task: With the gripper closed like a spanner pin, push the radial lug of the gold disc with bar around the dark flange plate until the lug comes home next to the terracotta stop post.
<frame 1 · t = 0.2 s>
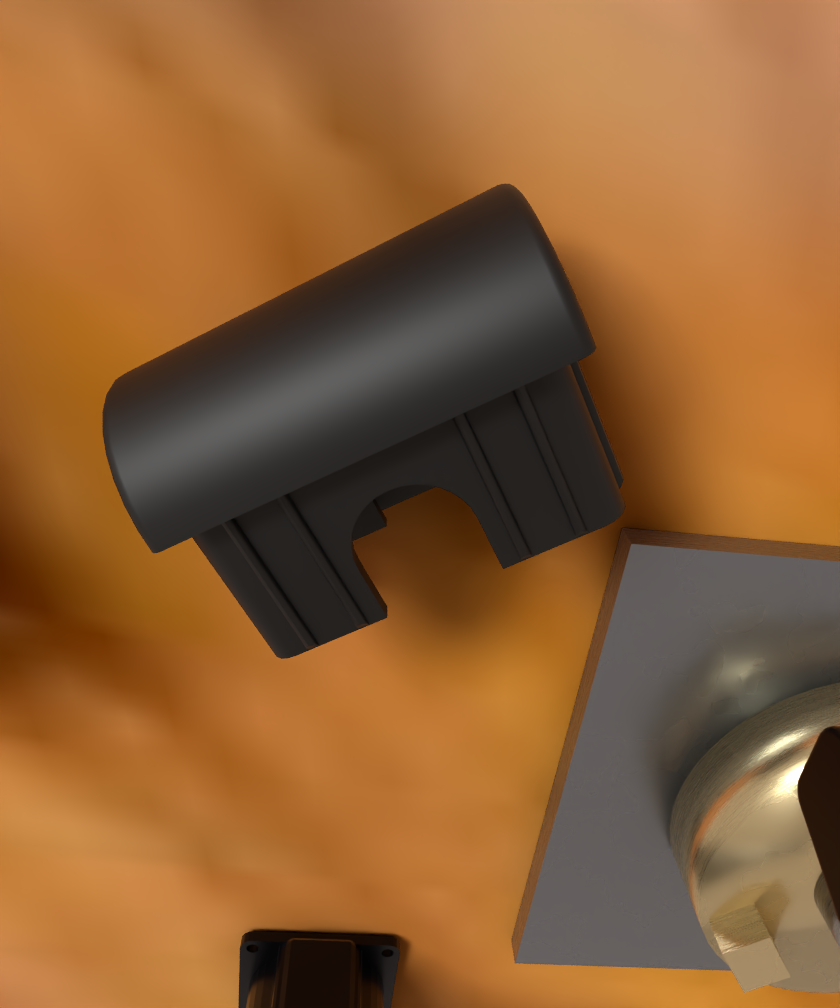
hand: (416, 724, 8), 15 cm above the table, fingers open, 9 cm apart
flange plate: (816, 781, 29), on the table
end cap: (376, 373, 22), on the table
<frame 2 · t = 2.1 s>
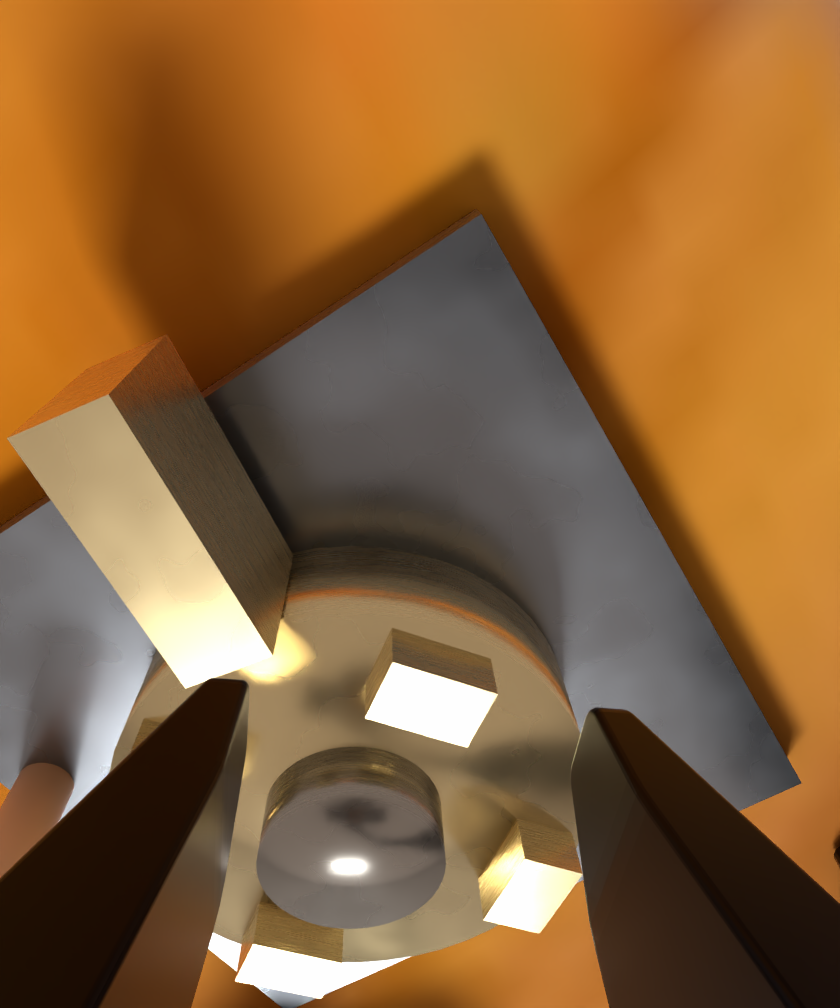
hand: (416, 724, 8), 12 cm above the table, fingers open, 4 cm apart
stop post: (58, 757, 24), resting on flange plate
flange plate: (358, 697, 23), on the table
gold disc with bar: (303, 709, 19), point 4 cm above the table, hinge at 0.0°
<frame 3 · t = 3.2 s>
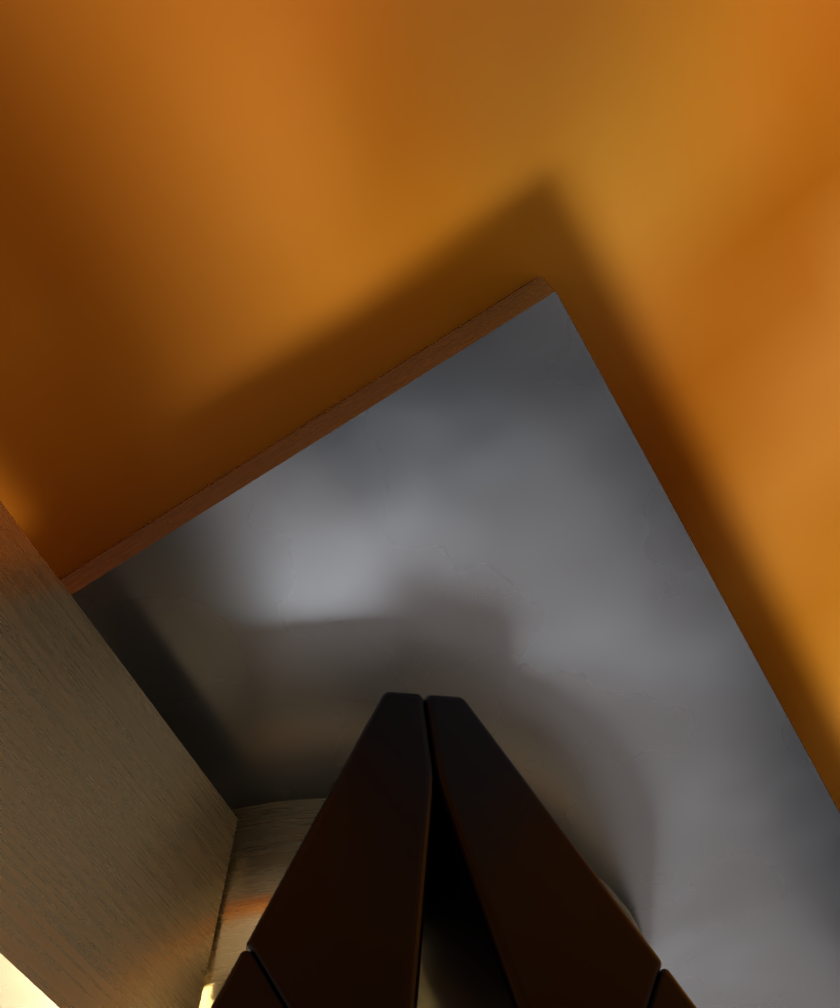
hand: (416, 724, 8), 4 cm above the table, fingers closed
flange plate: (346, 956, 16), on the table
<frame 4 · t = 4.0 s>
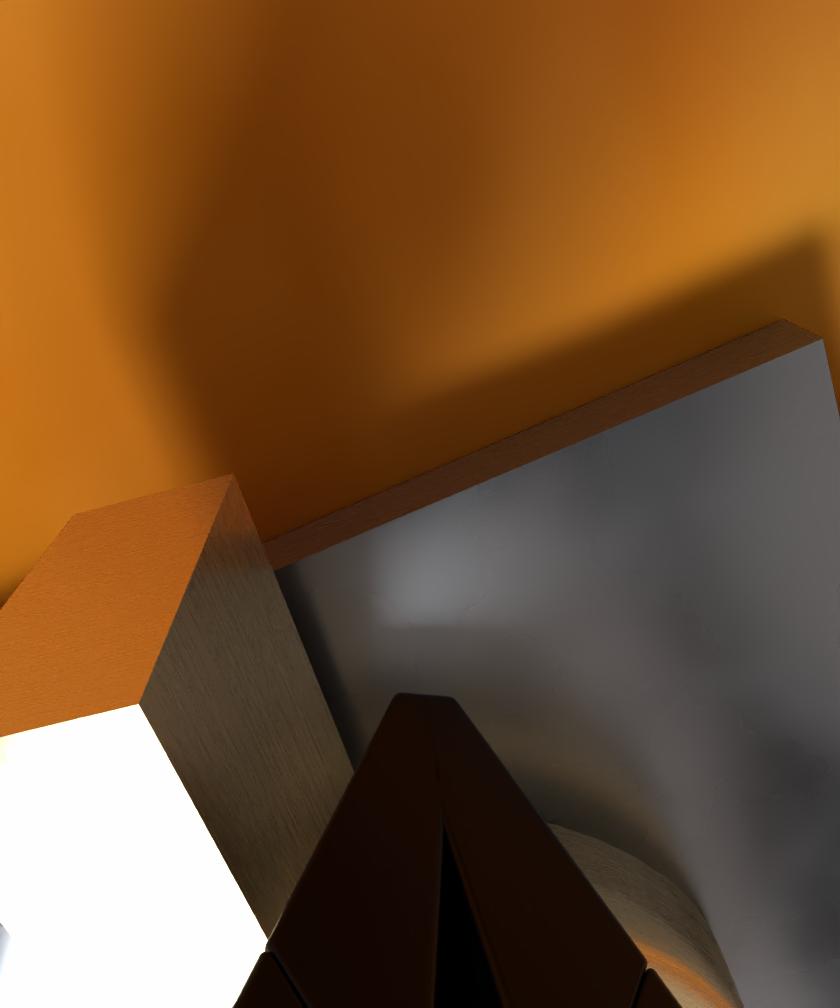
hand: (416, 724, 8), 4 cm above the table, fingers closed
flange plate: (408, 969, 16), on the table
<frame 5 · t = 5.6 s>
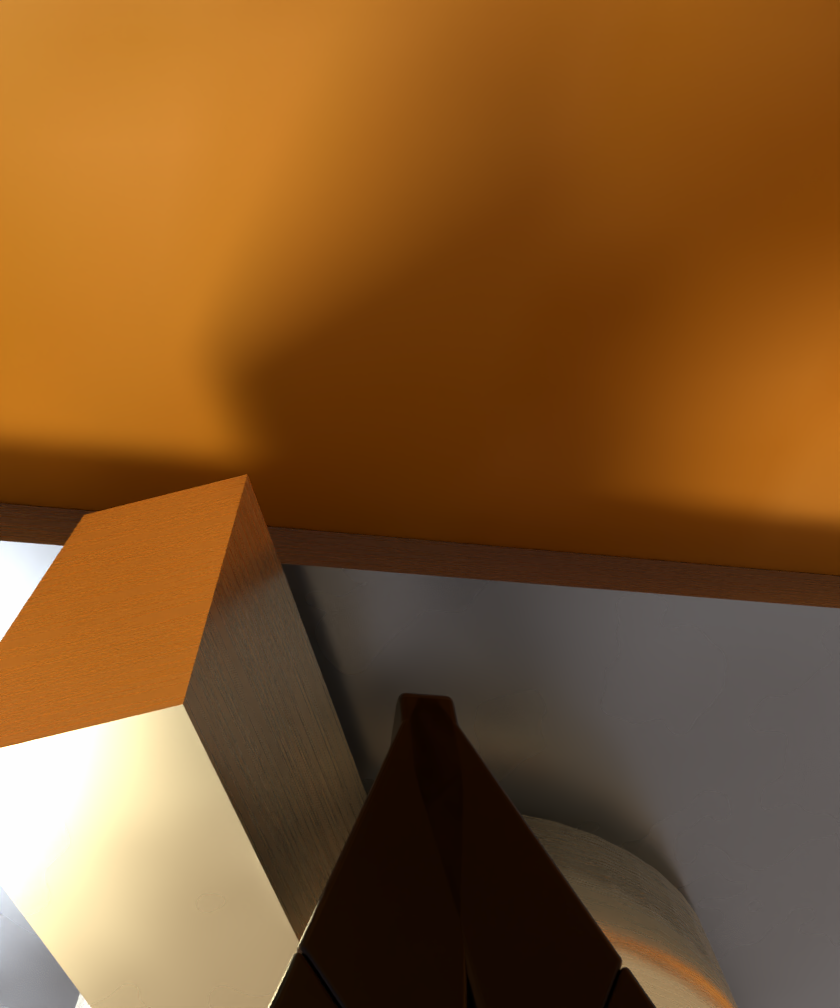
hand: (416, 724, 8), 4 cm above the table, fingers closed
flange plate: (400, 967, 16), on the table
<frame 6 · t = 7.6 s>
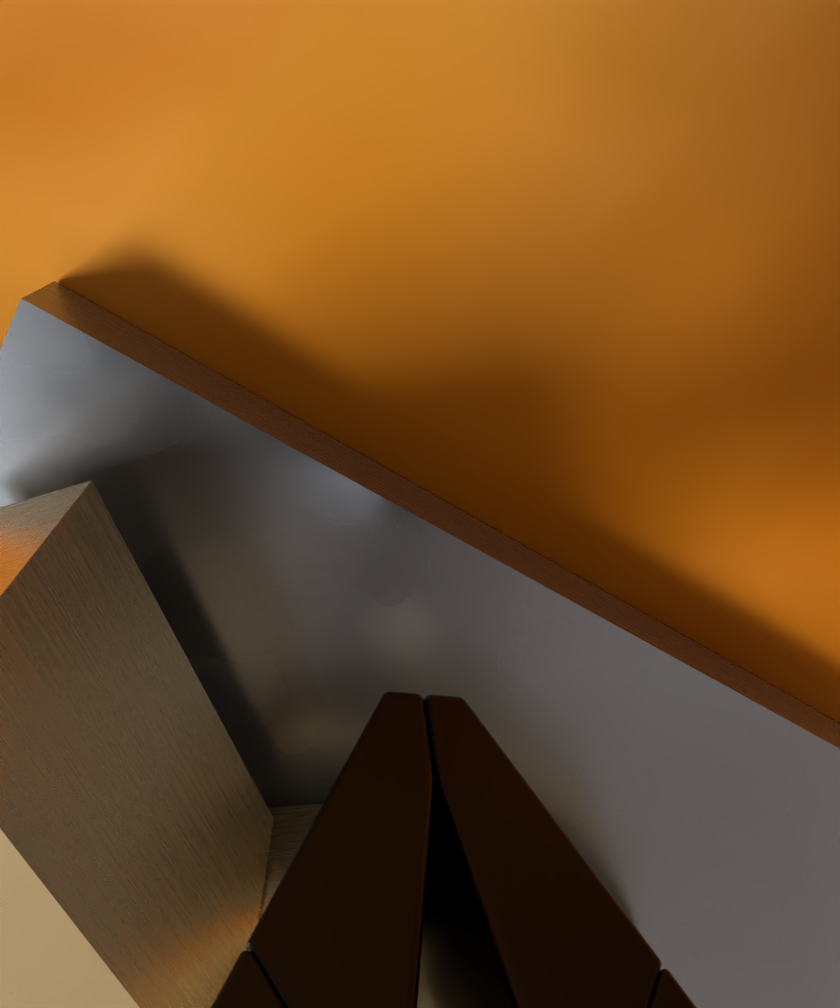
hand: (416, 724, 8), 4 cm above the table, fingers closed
flange plate: (342, 961, 16), on the table
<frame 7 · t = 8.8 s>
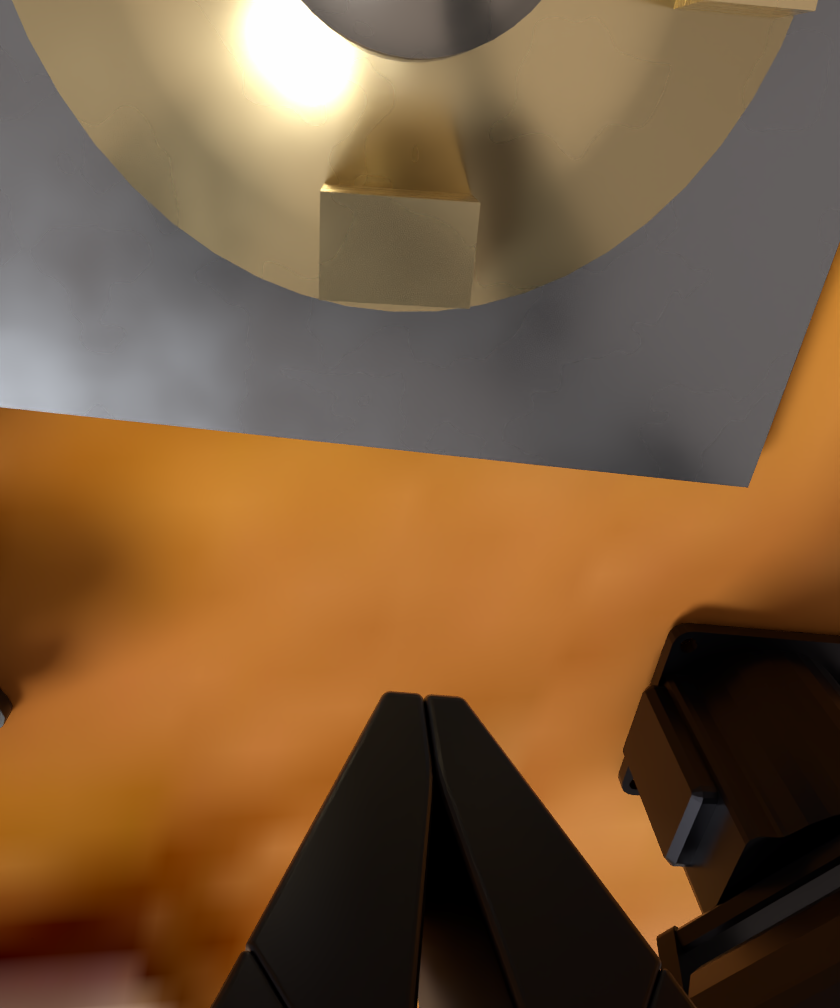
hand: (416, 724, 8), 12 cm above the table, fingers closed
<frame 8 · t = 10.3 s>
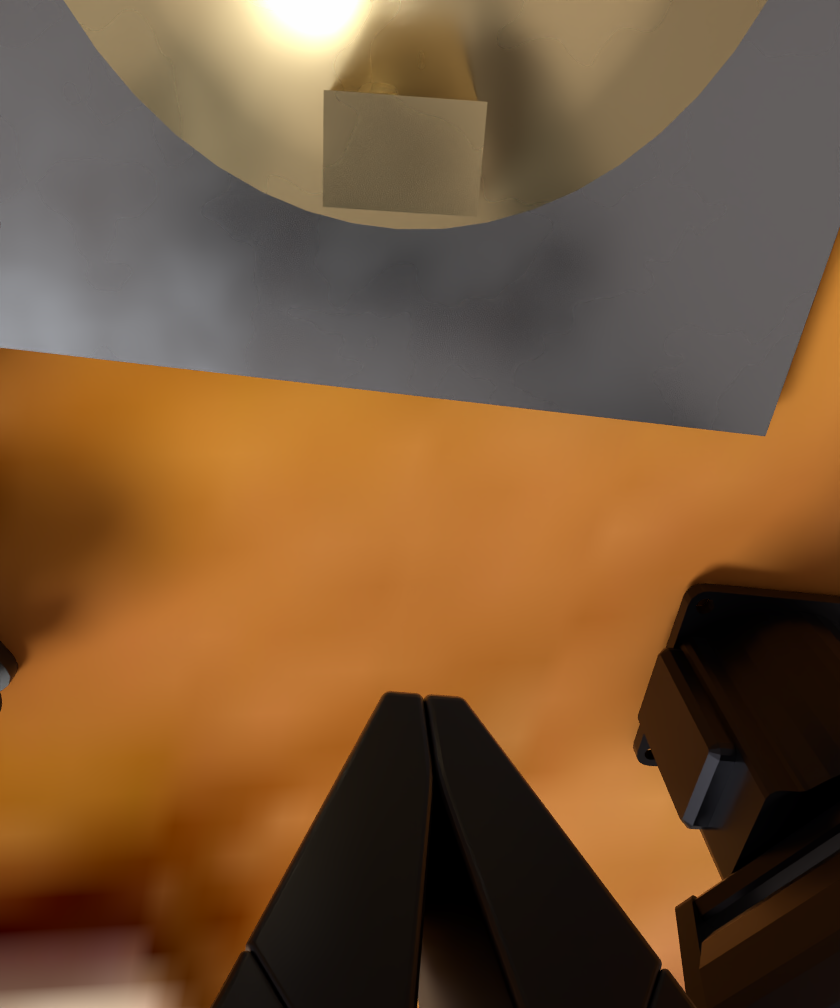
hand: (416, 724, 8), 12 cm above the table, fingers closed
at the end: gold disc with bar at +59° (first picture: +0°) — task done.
